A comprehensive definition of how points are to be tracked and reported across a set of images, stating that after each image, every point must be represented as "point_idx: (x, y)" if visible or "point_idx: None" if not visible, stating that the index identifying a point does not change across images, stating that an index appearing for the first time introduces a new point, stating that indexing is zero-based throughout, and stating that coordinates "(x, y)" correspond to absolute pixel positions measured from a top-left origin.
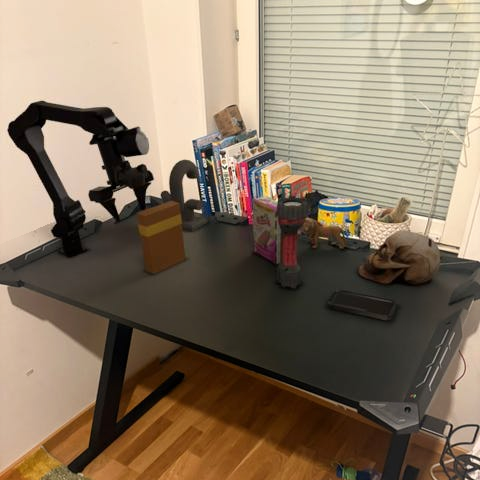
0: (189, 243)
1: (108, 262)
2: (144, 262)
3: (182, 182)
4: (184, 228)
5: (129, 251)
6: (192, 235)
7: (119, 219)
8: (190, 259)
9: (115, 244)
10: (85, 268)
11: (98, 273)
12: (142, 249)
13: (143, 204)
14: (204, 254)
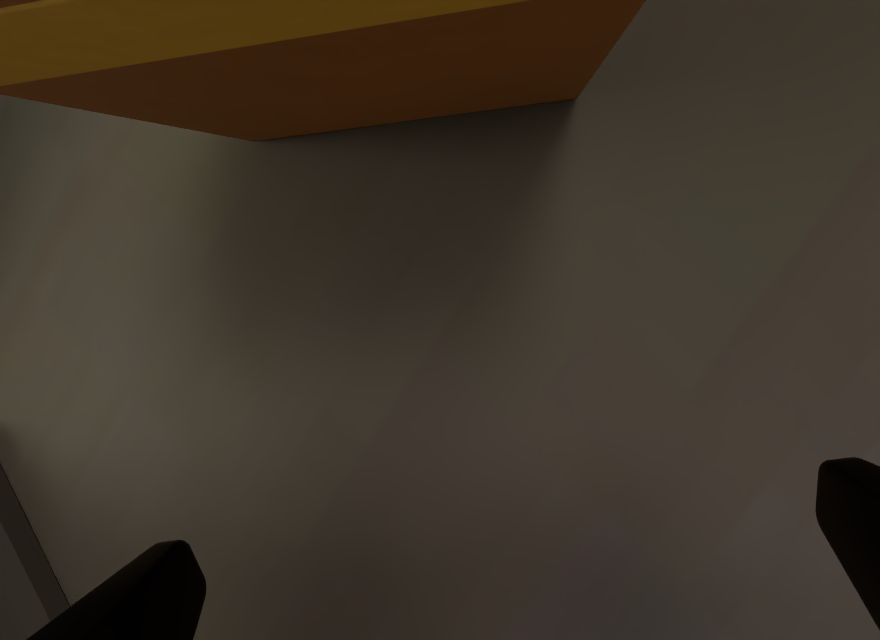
0: (82, 270)
1: (688, 440)
2: (587, 82)
3: None
4: (2, 488)
5: (472, 478)
6: (7, 367)
7: (863, 480)
8: None
9: (480, 637)
10: None
11: (862, 336)
12: (611, 47)
13: (99, 617)
14: None
